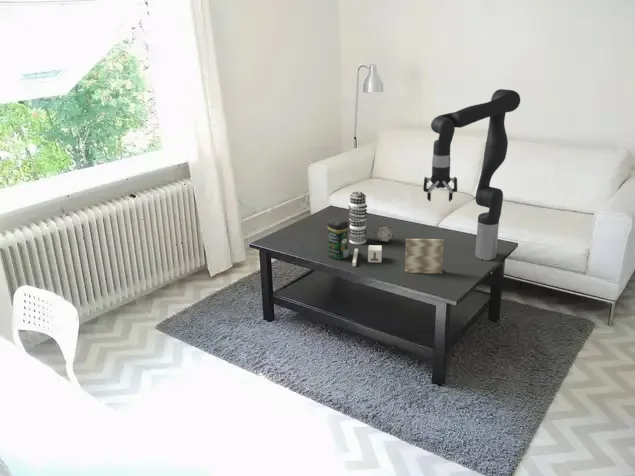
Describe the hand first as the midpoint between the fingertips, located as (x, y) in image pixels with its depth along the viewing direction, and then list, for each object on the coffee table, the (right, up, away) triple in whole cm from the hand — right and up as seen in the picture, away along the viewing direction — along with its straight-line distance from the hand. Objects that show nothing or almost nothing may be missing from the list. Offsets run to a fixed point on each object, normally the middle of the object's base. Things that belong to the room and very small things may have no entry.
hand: (439, 200), depth 261 cm
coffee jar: (-43, -25, +22) cm, 54 cm away
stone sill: (-36, -26, +18) cm, 48 cm away
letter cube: (-26, -26, +17) cm, 41 cm away
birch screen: (-6, -31, +4) cm, 32 cm away
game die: (-20, -18, +37) cm, 46 cm away
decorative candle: (-33, -18, +39) cm, 54 cm away
